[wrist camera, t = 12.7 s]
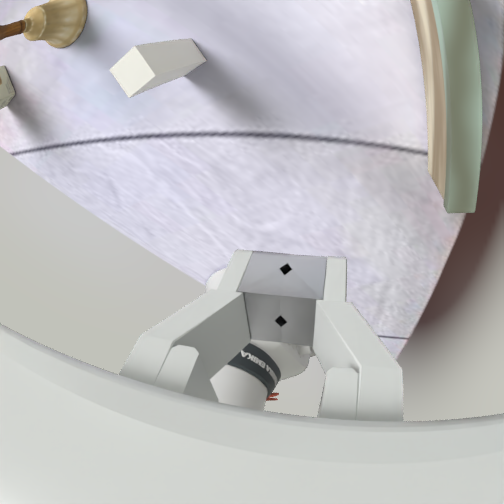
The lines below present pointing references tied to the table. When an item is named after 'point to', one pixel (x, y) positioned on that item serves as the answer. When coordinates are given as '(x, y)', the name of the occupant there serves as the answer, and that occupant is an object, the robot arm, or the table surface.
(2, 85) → the skincare box
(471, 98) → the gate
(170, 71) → the gate posts
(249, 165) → the table surface
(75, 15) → the hand bell
